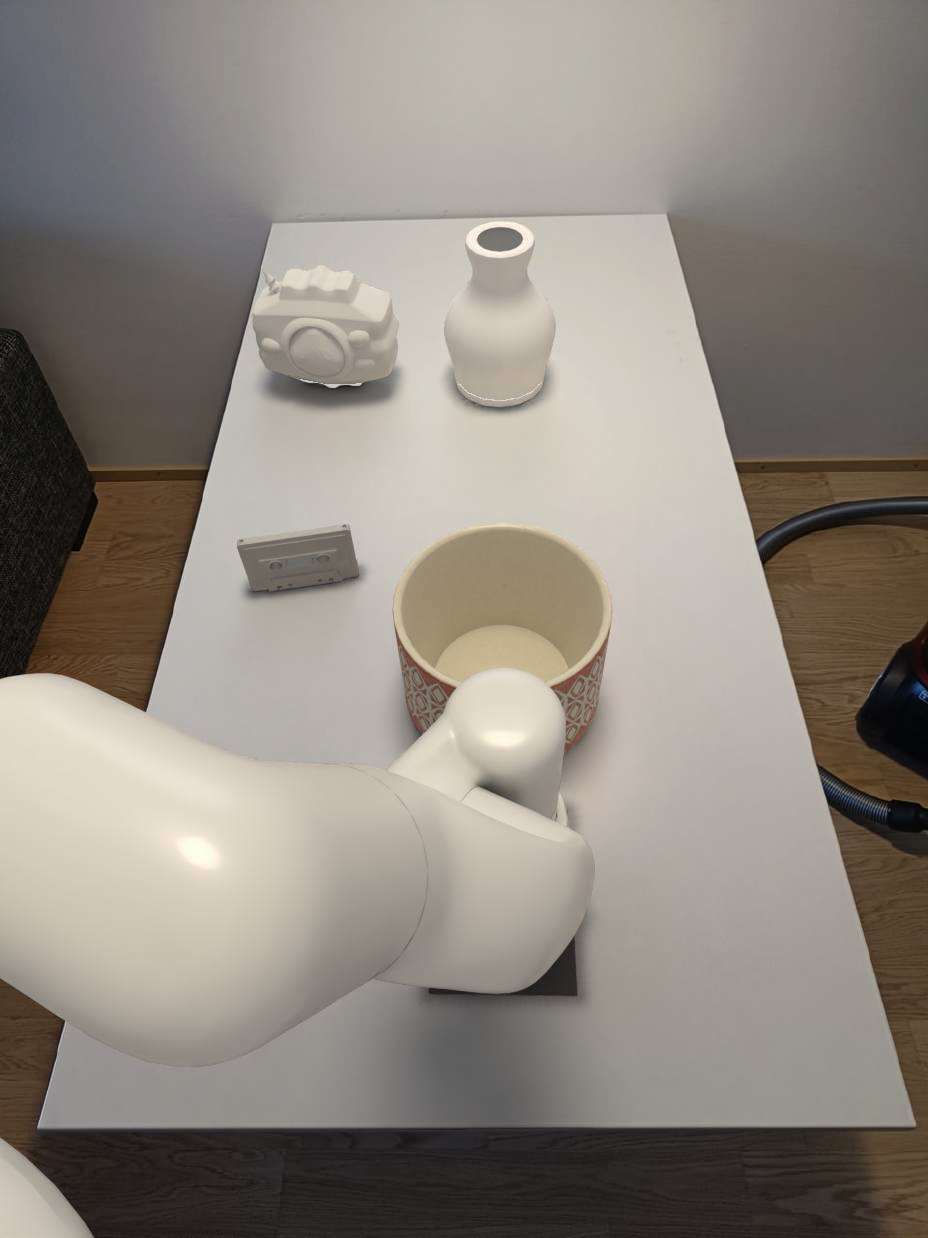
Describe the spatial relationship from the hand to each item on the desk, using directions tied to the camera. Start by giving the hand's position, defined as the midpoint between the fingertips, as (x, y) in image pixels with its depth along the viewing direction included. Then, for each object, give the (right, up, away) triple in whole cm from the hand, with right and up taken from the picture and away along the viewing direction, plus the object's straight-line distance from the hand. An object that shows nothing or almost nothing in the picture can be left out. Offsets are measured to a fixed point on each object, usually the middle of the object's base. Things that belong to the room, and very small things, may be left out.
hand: (502, 893), depth 76 cm
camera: (-21, +56, +44) cm, 74 cm away
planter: (+1, +16, +13) cm, 21 cm away
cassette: (-21, +28, +23) cm, 42 cm away
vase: (+2, +56, +43) cm, 71 cm away
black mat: (0, -1, +1) cm, 1 cm away
